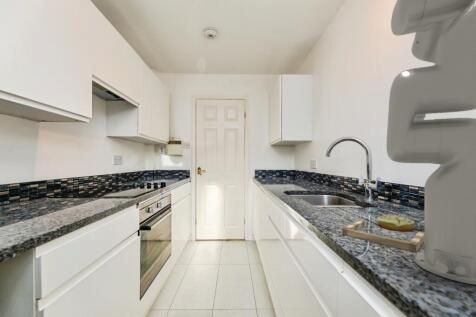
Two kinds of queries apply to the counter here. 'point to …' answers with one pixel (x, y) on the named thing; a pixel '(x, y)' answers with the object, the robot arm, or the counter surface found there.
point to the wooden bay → (401, 244)
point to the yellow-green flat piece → (396, 222)
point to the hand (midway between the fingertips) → (411, 161)
